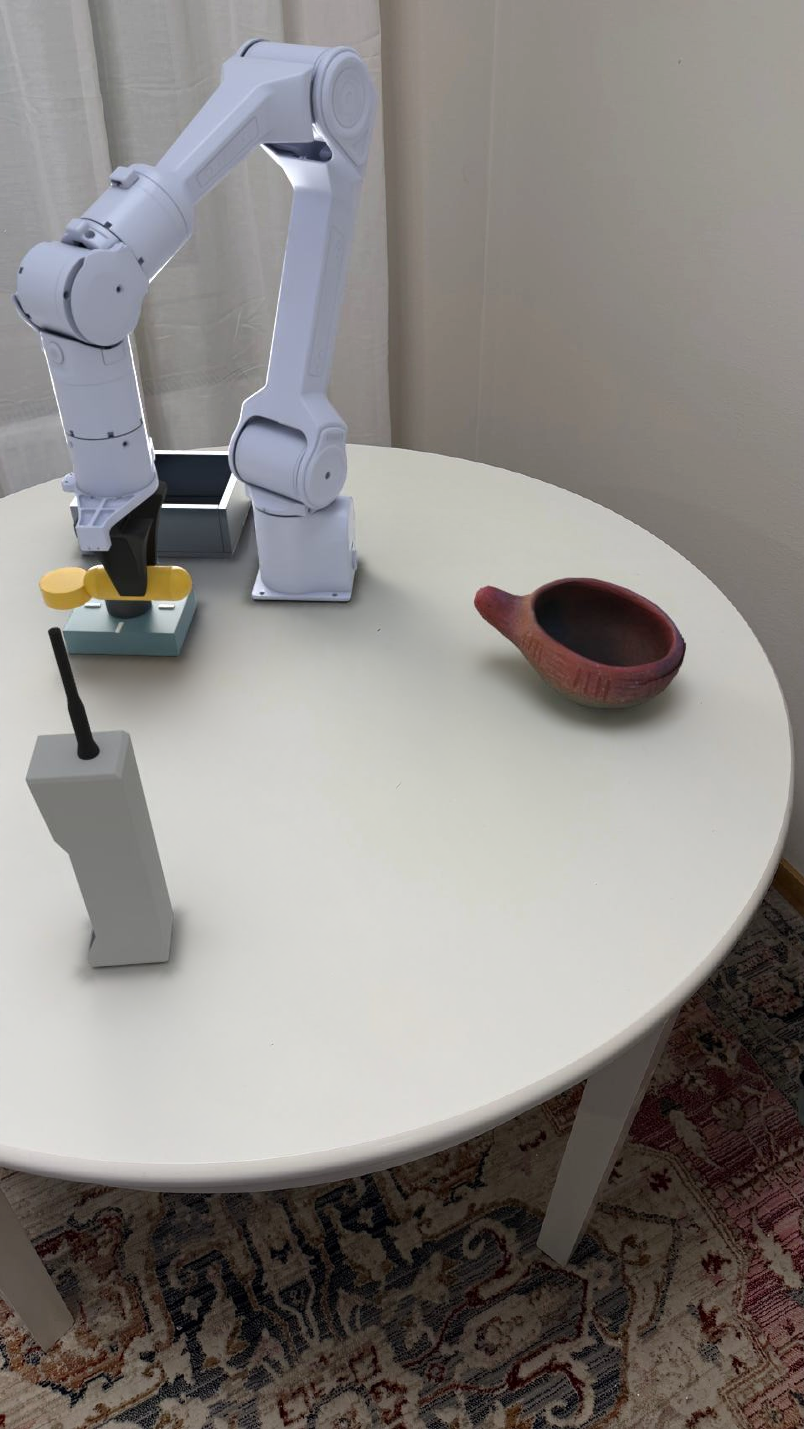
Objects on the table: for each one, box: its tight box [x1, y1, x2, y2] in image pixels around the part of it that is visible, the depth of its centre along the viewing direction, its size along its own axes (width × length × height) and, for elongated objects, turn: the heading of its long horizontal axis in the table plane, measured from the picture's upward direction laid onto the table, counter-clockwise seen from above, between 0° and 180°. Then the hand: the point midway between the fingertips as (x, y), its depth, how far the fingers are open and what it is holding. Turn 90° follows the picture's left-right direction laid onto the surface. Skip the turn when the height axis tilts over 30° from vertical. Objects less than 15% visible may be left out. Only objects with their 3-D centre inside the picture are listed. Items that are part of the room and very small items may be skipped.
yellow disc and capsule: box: [38, 564, 193, 611], centre depth 82 cm, size 12×4×3 cm, turn 87°
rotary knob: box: [105, 600, 152, 618], centre depth 90 cm, size 4×4×4 cm
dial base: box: [61, 583, 198, 657], centre depth 92 cm, size 10×8×3 cm
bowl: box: [473, 577, 687, 709], centre depth 83 cm, size 16×13×8 cm
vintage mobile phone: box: [25, 626, 174, 968], centre depth 57 cm, size 4×5×25 cm
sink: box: [69, 450, 252, 559], centre depth 105 cm, size 16×13×6 cm
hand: (138, 582), depth 81 cm, fingers closed on yellow disc and capsule, 3 cm apart
